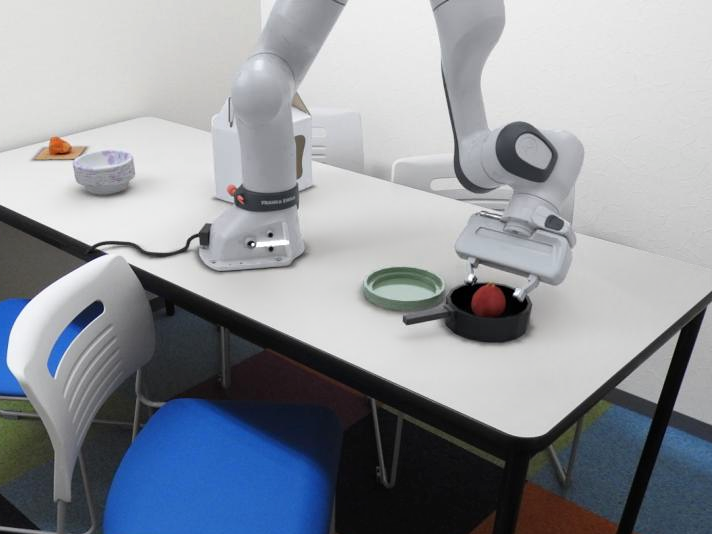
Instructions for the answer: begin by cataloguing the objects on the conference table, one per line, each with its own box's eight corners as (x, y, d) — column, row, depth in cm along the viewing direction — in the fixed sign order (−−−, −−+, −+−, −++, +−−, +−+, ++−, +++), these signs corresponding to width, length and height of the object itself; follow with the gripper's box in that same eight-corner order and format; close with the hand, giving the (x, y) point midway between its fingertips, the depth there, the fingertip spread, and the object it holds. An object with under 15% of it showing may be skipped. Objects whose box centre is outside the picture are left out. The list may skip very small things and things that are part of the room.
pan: (498, 298, 145) (501, 276, 143) (544, 333, 134) (548, 310, 131) (385, 320, 139) (386, 297, 136) (423, 359, 128) (425, 335, 125)
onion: (465, 315, 140) (470, 274, 135) (496, 313, 140) (502, 272, 136) (474, 330, 135) (480, 289, 130) (506, 329, 135) (513, 287, 131)
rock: (76, 159, 222) (73, 144, 220) (34, 160, 223) (31, 145, 220) (86, 147, 232) (83, 132, 230) (45, 147, 232) (42, 133, 230)
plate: (384, 319, 139) (385, 306, 138) (350, 284, 151) (351, 273, 150) (459, 304, 143) (460, 292, 142) (420, 272, 155) (421, 260, 154)
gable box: (253, 210, 186) (248, 87, 170) (215, 198, 193) (206, 79, 177) (312, 186, 199) (312, 69, 183) (274, 175, 207) (271, 63, 191)
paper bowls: (65, 195, 197) (59, 164, 193) (98, 177, 209) (94, 147, 204) (116, 202, 192) (112, 170, 188) (147, 183, 204) (144, 152, 199)
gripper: (469, 200, 138) (435, 268, 138) (579, 226, 127) (542, 301, 127) (479, 216, 144) (446, 282, 143) (585, 243, 132) (550, 315, 132)
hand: (492, 292), depth 135 cm, fingers open, 8 cm apart
